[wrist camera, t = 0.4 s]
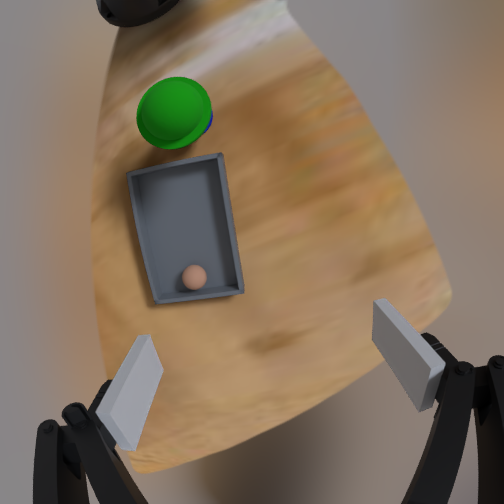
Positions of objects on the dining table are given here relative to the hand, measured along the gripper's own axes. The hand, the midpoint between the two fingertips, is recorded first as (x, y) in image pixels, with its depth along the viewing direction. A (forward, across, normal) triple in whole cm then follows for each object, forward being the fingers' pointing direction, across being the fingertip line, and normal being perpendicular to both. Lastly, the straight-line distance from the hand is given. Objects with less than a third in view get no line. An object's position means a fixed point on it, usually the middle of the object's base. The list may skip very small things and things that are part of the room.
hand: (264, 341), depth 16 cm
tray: (+27, -9, +2) cm, 28 cm away
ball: (+26, -9, -4) cm, 28 cm away
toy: (+27, -6, +16) cm, 32 cm away
